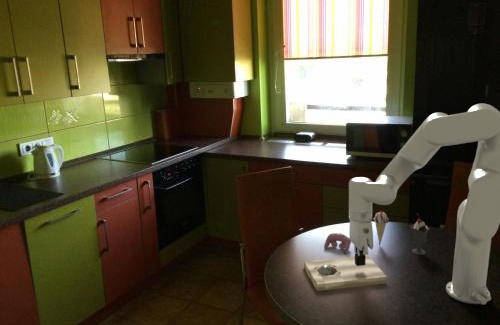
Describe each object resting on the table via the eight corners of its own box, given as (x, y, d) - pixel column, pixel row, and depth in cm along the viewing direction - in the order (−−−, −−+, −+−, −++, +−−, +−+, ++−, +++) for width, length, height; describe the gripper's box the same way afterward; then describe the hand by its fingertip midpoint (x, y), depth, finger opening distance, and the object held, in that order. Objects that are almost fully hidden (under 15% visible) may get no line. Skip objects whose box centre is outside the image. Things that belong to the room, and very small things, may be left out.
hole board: (386, 283, 147) (386, 276, 146) (317, 291, 144) (317, 284, 143) (367, 261, 162) (367, 255, 162) (304, 267, 159) (304, 261, 158)
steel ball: (321, 280, 153) (332, 273, 153) (323, 281, 149) (335, 275, 149) (315, 268, 154) (326, 262, 154) (317, 269, 149) (328, 263, 150)
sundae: (412, 246, 173) (415, 210, 169) (430, 251, 169) (433, 214, 165) (406, 252, 168) (408, 216, 164) (424, 257, 164) (427, 220, 160)
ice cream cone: (389, 245, 174) (391, 210, 171) (383, 250, 170) (384, 214, 167) (376, 241, 178) (378, 207, 175) (369, 246, 174) (371, 211, 170)
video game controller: (350, 254, 172) (353, 236, 173) (346, 253, 168) (350, 235, 169) (326, 249, 177) (329, 231, 178) (322, 248, 173) (325, 230, 174)
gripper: (380, 221, 140) (379, 273, 144) (362, 205, 154) (361, 253, 159) (358, 223, 139) (358, 276, 143) (341, 208, 153) (341, 256, 158)
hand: (360, 264), depth 151 cm, fingers closed
